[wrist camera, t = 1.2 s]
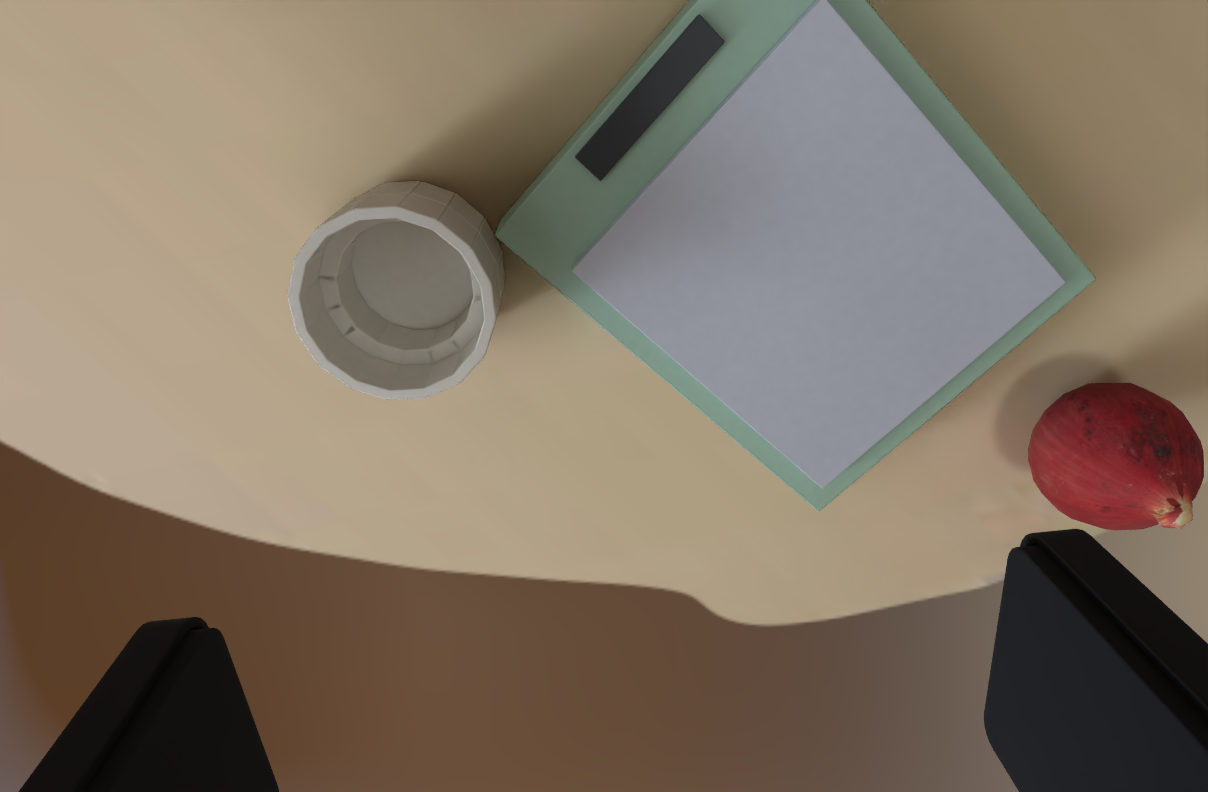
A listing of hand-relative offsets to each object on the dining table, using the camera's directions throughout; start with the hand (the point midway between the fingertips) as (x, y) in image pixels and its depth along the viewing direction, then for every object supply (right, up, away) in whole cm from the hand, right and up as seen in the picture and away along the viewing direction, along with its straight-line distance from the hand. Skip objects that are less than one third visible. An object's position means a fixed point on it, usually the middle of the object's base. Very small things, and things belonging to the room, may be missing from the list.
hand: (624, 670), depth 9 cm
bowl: (-8, +8, +21) cm, 24 cm away
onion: (+20, +3, +26) cm, 33 cm away
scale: (+7, +9, +22) cm, 25 cm away
